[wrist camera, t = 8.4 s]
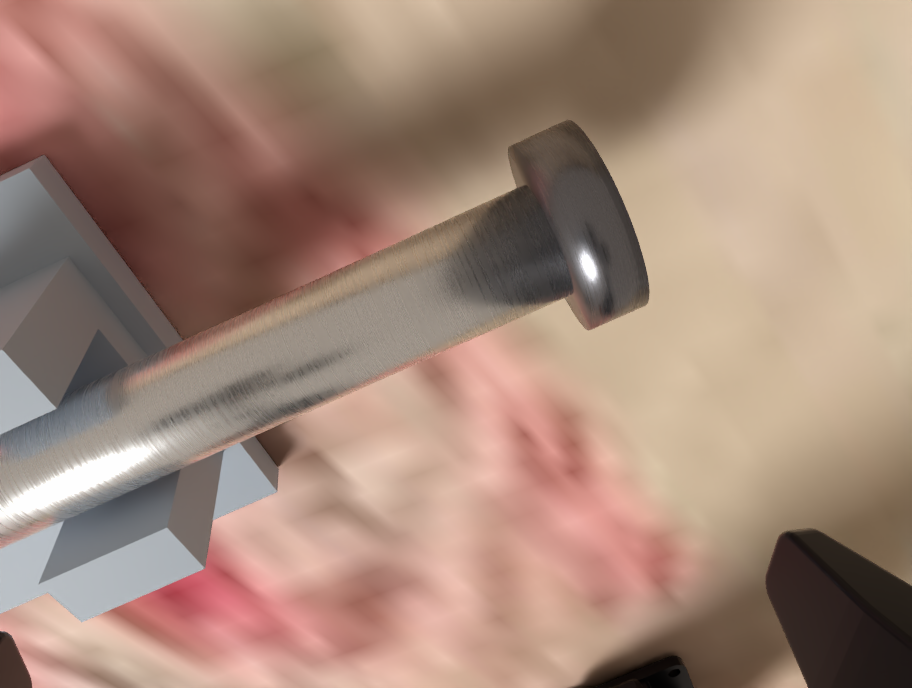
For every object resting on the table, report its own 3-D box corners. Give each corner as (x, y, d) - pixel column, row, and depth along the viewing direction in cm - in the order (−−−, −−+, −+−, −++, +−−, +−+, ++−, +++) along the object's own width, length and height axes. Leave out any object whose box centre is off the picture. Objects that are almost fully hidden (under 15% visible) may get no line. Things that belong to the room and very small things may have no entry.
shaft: (596, 257, 17) (666, 340, 14) (-171, 601, 18) (-279, 755, 15) (545, 99, 15) (613, 152, 12) (-317, 499, 16) (-482, 651, 13)
